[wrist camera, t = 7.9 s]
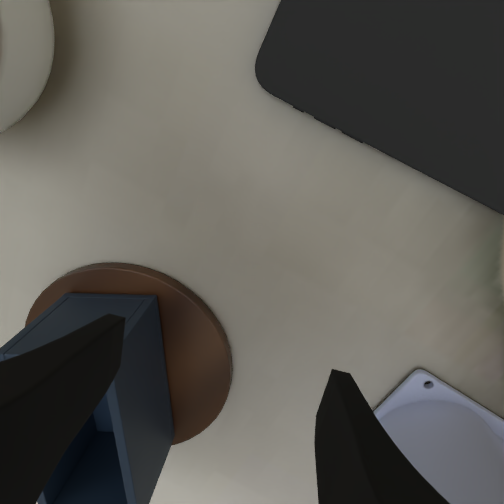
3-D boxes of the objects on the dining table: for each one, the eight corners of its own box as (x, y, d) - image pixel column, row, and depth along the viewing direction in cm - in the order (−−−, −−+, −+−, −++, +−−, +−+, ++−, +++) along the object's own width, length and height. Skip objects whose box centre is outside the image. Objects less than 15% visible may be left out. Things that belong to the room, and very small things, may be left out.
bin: (176, 450, 27) (143, 542, 22) (97, 444, 28) (46, 532, 22) (157, 294, 23) (110, 359, 18) (65, 292, 24) (-8, 353, 18)
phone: (532, 231, 20) (245, 82, 19) (523, 226, 21) (247, 82, 20) (657, 76, 17) (327, -108, 16) (641, 77, 18) (326, -98, 17)
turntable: (273, 339, 25) (272, 347, 24) (172, 469, 29) (168, 479, 29) (76, 219, 23) (69, 223, 23) (4, 375, 28) (-5, 382, 27)
